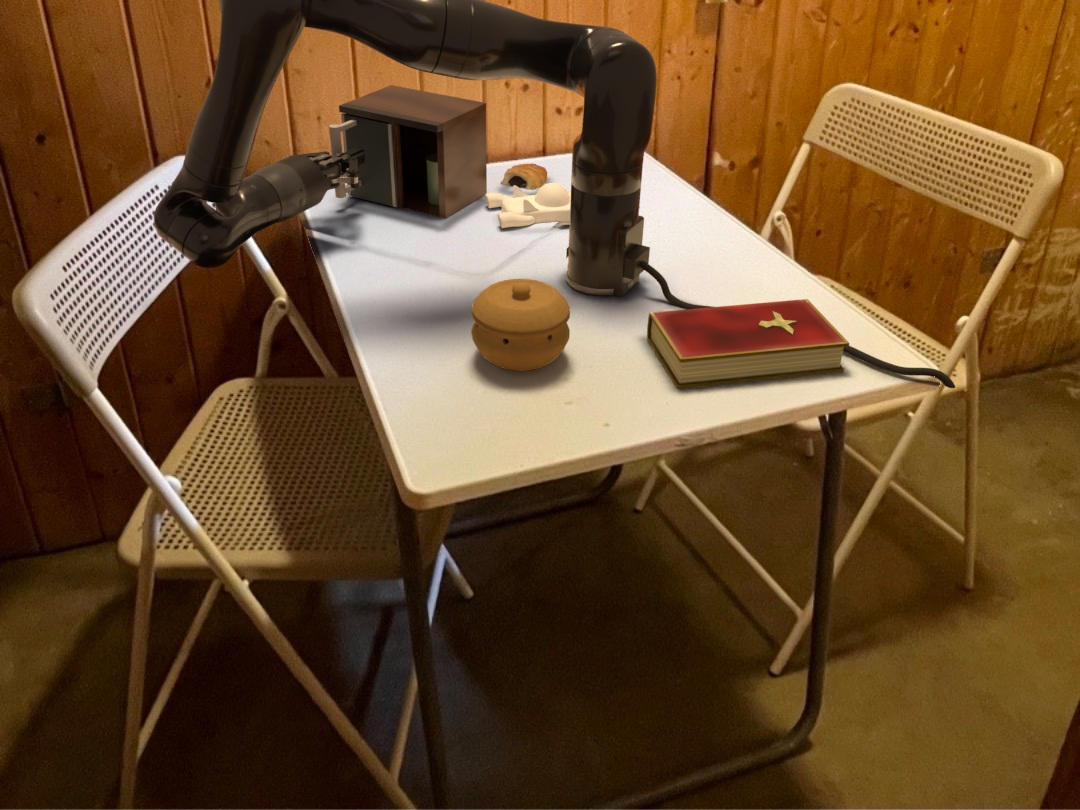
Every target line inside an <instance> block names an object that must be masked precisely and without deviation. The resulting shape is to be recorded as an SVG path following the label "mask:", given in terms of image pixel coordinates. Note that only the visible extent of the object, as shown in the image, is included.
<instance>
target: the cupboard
mask: <svg viewBox="0 0 1080 810" xmlns="http://www.w3.org/2000/svg"><path fill="white" fill-rule="evenodd" d="M338 112H339V113H341V114H343V113H345V114H350V115H354V116H359V117H364V118H369V119H374V120H379V121H383V122H388V123H393V126H394V143H395V160H396V177H397V193H398V207H397V208H401V209H405V210H409V211H412V212H416V213H421V214H424V215H428V216H433V217H437V218H441V219H445V220H446V219H448V218H451V216H453V215H455V214H457V213H458V212H460V211H462V210H463V209H465V208H466V207H468V206H470V205H472V204H473V203H475V202H476V201H479V200H480V199H482V198H483V197H485V194H487V193H488V183H487V180H488V179H487V177H488V176H487V172H488V171H487V167H488V166H487V102H482V101H478V100H472V99H467V98H461V97H458V96H457V97H456V96H451V95H446V94H441V93H440V94H439V93H436V92H430V91H426V90H420V89H414V88H409V87H404V86H398V85H393V84H390V85H388V86H385V87H383V88H380V89H377V90H374V91H372V92H370V93H368V94H365V95H363V96H359V97H357V98H354V99H352V100H350V101H347V102H344V103H342V104H340V105H338ZM434 153H437V158H438V186H439V205H434V204H431V203H429V202H428V195H427V172H426V157H427V156H428V155H430V154H434Z"/></svg>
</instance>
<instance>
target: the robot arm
mask: <svg viewBox="0 0 1080 810" xmlns="http://www.w3.org/2000/svg"><path fill="white" fill-rule="evenodd" d="M218 8H219V12H220V30H219V31H220V32H219V42H218V43H219V44H218V53H217V54H218V55H217V61H216V66H215V71H214V75H213V78H212V82H211V85H210V88H209V90H208V92H207V95H206V97H205V99H204V101H203V103H202V105H201V107H200V110H199V111H198V114H197V116H196V119H195V120H194V124H193V127H192V130H191V133H190V137H189V139H188V140H189V141H188V145H187V148H186V152H185V155H184V158H183V159H184V160H183V162H182V165H181V168H180V170H179V172H178V174H177V175H176V177H175V178H174V180H173V182H172V183H171V185H170V186H169V188H168V190H167V191H166V192H165V194H164V195H163V197H162V198H161V199H160V201H159V202H158V204H157V206H156V207H155V210H154V214H153V224H154V229H155V231H156V233H157V234H158V236H159V237H160V238H161V239H162V240H163V241H165V242H166V243H167V244H169V245H170V246H171V247H172V248H174V249H175V250H176V251H178V252H179V253H180V254H181V255H182V256H184V257H185V258H186V259H187V260H189V261H190V262H191V263H193V264H194V265H195V266H197V267H200V268H203V269H215V268H219V267H221V266H223V265H225V264H226V263H227V262H228V261H229V260H230V259H231V258H233V256H234V255H235V253H237V252H238V250H239V249H240V248H242V246H243V245H244V244H245V243H246V242H248V240H249V239H251V238H252V237H253V236H254V235H255V234H256V233H259V232H261V231H263V230H264V229H267V228H269V227H271V226H273V225H275V224H278V223H281V222H284V221H286V220H289V219H292V218H293V217H295V216H298V215H299V214H302V213H303V212H305V211H307V210H309V209H312V208H314V207H315V206H318V205H319V204H320V203H321V202H322V200H323V199H324V197H325V196H326V193H327V192H328V191H330V190H335V188H338V187H339V186H340V184H345V185H347V184H348V185H351V188H353V189H356V188H359V170H358V166H359V165H361V164H363V163H365V162H366V161H365V151H364V149H361V148H356V147H355V148H353V149H350V150H348V151H346V152H344V151H343V152H342V153H338V152H337V153H334V154H332V153H331V154H330V152H329V151H325V150H324V151H318V152H309V153H299V154H290V155H288V157H285V158H282V159H279V160H278V161H275V162H273V163H272V164H268V165H266V166H264V167H262V168H259V169H257V170H256V171H254V172H253V173H252V174H250V175H247V176H246V177H244V176H245V173H246V170H247V167H248V165H249V161H250V157H251V154H252V150H253V147H254V143H255V140H256V136H257V133H258V129H259V126H260V123H261V120H262V116H263V113H264V111H265V108H266V105H267V102H268V100H269V98H270V95H271V93H272V90H273V88H274V86H275V84H276V82H277V79H278V78H279V76H280V73H281V71H282V69H283V68H284V65H285V64H286V62H287V60H288V59H289V57H290V55H291V53H292V51H293V49H294V47H295V45H296V44H297V41H298V40H299V38H300V36H301V34H302V32H303V30H304V28H308V29H313V30H314V29H315V30H320V31H325V32H330V33H334V34H338V35H341V36H345V37H347V38H350V39H352V40H354V41H357V42H358V43H360V44H362V45H364V46H366V47H368V48H370V49H372V50H374V51H375V52H377V53H379V54H381V55H383V56H384V57H386V58H389V59H391V60H393V61H394V62H396V63H399V64H401V65H403V66H405V67H408V68H410V69H413V70H416V71H419V72H423V73H427V74H433V75H437V76H443V77H447V78H454V79H459V80H467V81H498V80H499V81H501V80H510V79H513V80H515V79H523V80H530V81H531V80H532V81H536V82H541V83H545V84H548V85H552V86H555V87H559V88H561V89H565V90H568V91H571V92H573V93H575V94H578V95H580V96H581V97H582V98H583V111H582V112H583V114H582V125H581V126H582V127H581V132H580V134H578V135H577V136H576V137H575V138H574V140H573V142H572V155H571V177H570V179H571V180H570V181H571V182H570V191H571V201H570V225H569V226H568V227H569V228H568V229H569V232H568V247H566V257H565V258H566V259H567V271H566V282H567V284H568V285H569V286H570V287H571V288H572V289H574V290H576V291H577V292H581V293H584V294H588V295H593V296H616V297H623V296H624V295H625V294H626V293H627V292H628V291H629V290H631V289H632V288H633V287H634V286H635V285H636V284H637V283H638V282H639V281H640V275H641V274H642V273H643V272H644V271H645V272H646V273H647V274H649V275H650V276H651V277H652V278H654V280H655V281H656V282H657V283H658V284H659V286H660V289H661V292H662V294H663V296H664V298H665V300H667V301H668V302H669V303H670V304H672V305H673V306H675V307H677V308H678V307H679V308H681V309H683V310H686V309H698V308H709V307H713V306H712V305H711V306H710V305H703V304H702V305H701V304H700V305H699V304H693V303H689V302H685V301H684V300H681V299H680V298H677V296H675V295H674V294H672V292H671V290H670V287H669V284H668V281H667V280H666V279H665V277H664V276H663V275H662V274H661V273H660V272H659V270H657V269H655V268H654V267H653V266H652V265H651V264H650V263H649V262H650V253H651V246H647V245H643V240H644V228H645V227H644V225H645V217H644V216H643V215H640V206H641V205H640V204H641V193H642V191H641V190H642V180H643V166H644V157H645V152H646V150H647V149H648V146H649V143H650V140H651V136H652V131H653V122H654V113H655V105H656V97H657V82H658V75H657V73H658V72H657V66H656V62H655V59H654V56H653V55H652V53H651V52H650V50H649V49H648V48H647V47H646V46H645V45H644V44H643V43H641V42H639V40H637V39H635V38H634V37H632V36H631V35H629V34H628V33H626V32H624V31H623V30H621V29H617V28H615V27H610V26H602V25H592V24H591V25H590V24H581V23H571V22H563V21H554V20H551V19H550V20H549V19H544V18H540V17H536V16H532V15H530V14H526V13H523V12H522V11H518V10H516V9H513V8H509V7H506V6H503V5H500V4H496V3H494V2H490V1H486V0H218ZM207 202H208V203H207ZM209 203H212V204H214V208H213V206H211V205H210V204H209ZM843 353H845V354H848V355H850V356H852V357H854V358H856V359H857V360H860V361H862V362H865V363H867V364H869V365H871V366H874V367H876V368H879V369H881V370H883V371H886V372H890V373H892V374H896V375H900V376H901V375H902V376H917V377H918V376H922V377H932V378H934V379H936V380H939V381H940V382H941V383H942V384H943V385H944V386H945V387H946V388H948V389H955V388H956V385H955V383H954V381H953V380H952V379H951V378H950V377H949V375H947V374H946V373H945V372H943V371H941V370H940V369H936V368H931V367H910V366H909V367H906V366H901V365H896V364H893V363H890V362H887V361H886V360H882V359H880V358H877V357H875V356H872V355H870V354H869V353H868V354H867V353H866V352H864V351H862V350H860V349H857V348H856V347H853V346H852V345H849V346H844V349H843ZM934 376H935V377H934Z"/></svg>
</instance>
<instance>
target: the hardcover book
mask: <svg viewBox="0 0 1080 810" xmlns="http://www.w3.org/2000/svg"><path fill="white" fill-rule="evenodd" d="M646 340H647V343H648V344H649V346H650V347H651V349H652V351H653V352H654V353H655V355H656V357H657V359H658V361H659V362H660V363H661V365H662V367H663V368H664V370H665V371H666V373H667V375H668V376H669V378H670V379H671V381H672V383H673V384H674V386H675V388H676V389H677V390H679V389H689V388H698V387H707V386H717V385H726V384H727V385H728V384H737V383H746V382H756V381H766V380H776V379H785V378H795V377H805V376H815V375H825V374H834V373H835V374H836V373H844V370H845V368H844V367H843V365H842V364H841V363H842V362H841V361H842V357H843V353H844V352H843V349H844V346H850V342H849V341H848V340H847V339H846V338H845V337H844V336H843V334H842V333H841V332H840V331H839V330H838V329H837V328H836V327H835V326H834V325H833V324H832V323H831V322H830V321H829V320H828V319H827V317H825V315H824V314H822V312H821V311H820V310H819V309H818V308H817V307H816V306H815V305H814V304H813V303H812V302H811V301H810V300H809V299H808V298H802V299H791V300H780V301H767V302H756V303H746V304H745V303H743V304H735V305H734V304H733V305H721V306H712V307H709V308H698V309H677V310H665V311H655V312H654V311H653V312H652V311H651V312H649V314H648V319H647V327H646Z"/></svg>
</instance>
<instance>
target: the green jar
mask: <svg viewBox="0 0 1080 810" xmlns="http://www.w3.org/2000/svg"><path fill="white" fill-rule="evenodd" d="M426 172H427V195H428V202H429V203H431V204H434V205H439V186H438V158H437V153H434V154H430V155H428V156H427V157H426Z"/></svg>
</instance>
